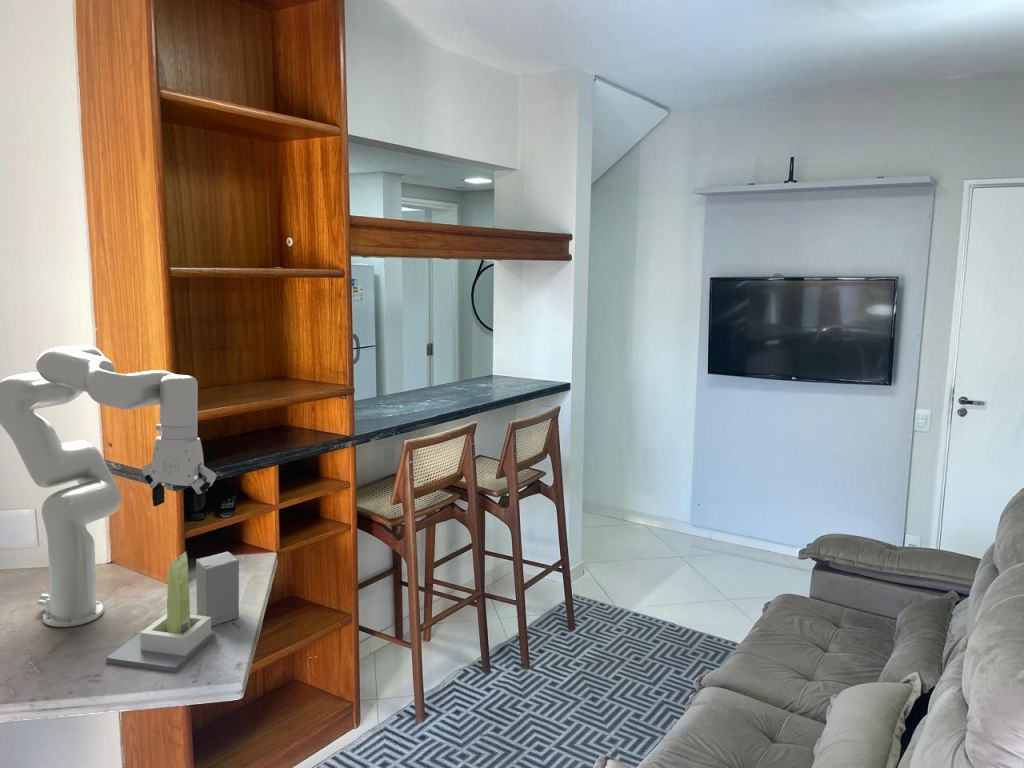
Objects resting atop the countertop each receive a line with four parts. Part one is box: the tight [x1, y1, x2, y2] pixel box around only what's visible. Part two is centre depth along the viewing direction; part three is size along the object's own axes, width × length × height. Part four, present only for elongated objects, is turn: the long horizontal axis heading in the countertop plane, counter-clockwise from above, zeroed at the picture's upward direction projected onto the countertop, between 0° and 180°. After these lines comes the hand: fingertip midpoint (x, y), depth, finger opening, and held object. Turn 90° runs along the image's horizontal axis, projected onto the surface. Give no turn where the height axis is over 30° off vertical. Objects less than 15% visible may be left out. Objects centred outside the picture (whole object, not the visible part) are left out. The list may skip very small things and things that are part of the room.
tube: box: [166, 551, 191, 635], centre depth 167 cm, size 6×5×20 cm
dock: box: [105, 612, 217, 674], centre depth 165 cm, size 16×16×5 cm
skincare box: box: [195, 551, 240, 627], centre depth 180 cm, size 8×7×16 cm
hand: (178, 506), depth 164 cm, fingers open, 9 cm apart
